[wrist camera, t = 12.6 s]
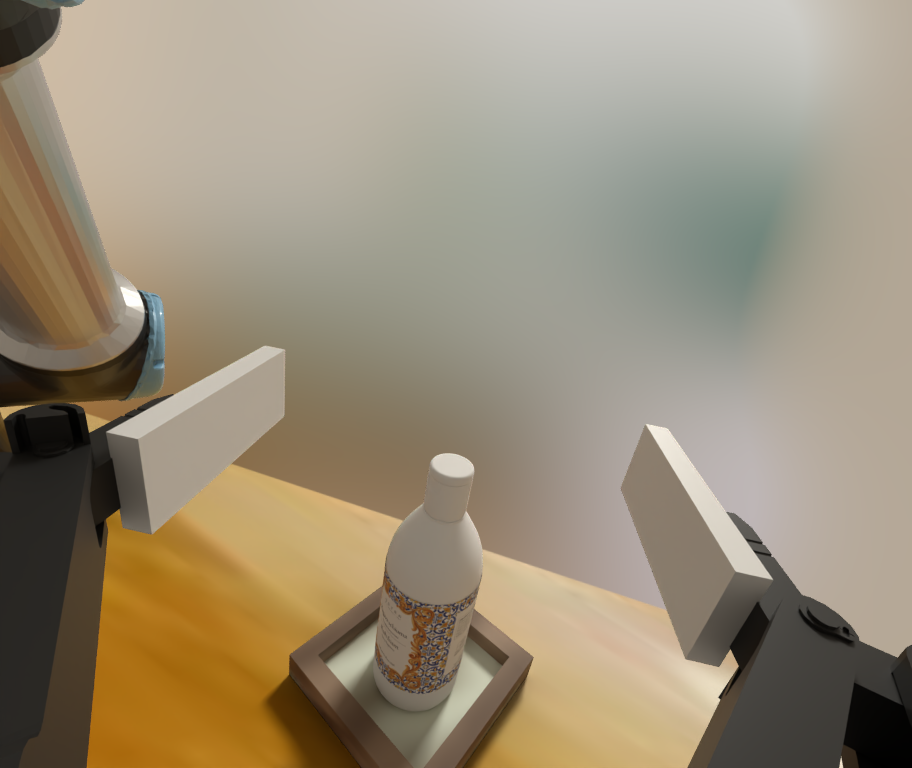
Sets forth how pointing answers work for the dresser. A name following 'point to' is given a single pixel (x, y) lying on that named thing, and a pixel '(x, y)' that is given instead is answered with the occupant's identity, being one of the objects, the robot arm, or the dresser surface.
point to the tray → (396, 730)
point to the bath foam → (429, 592)
